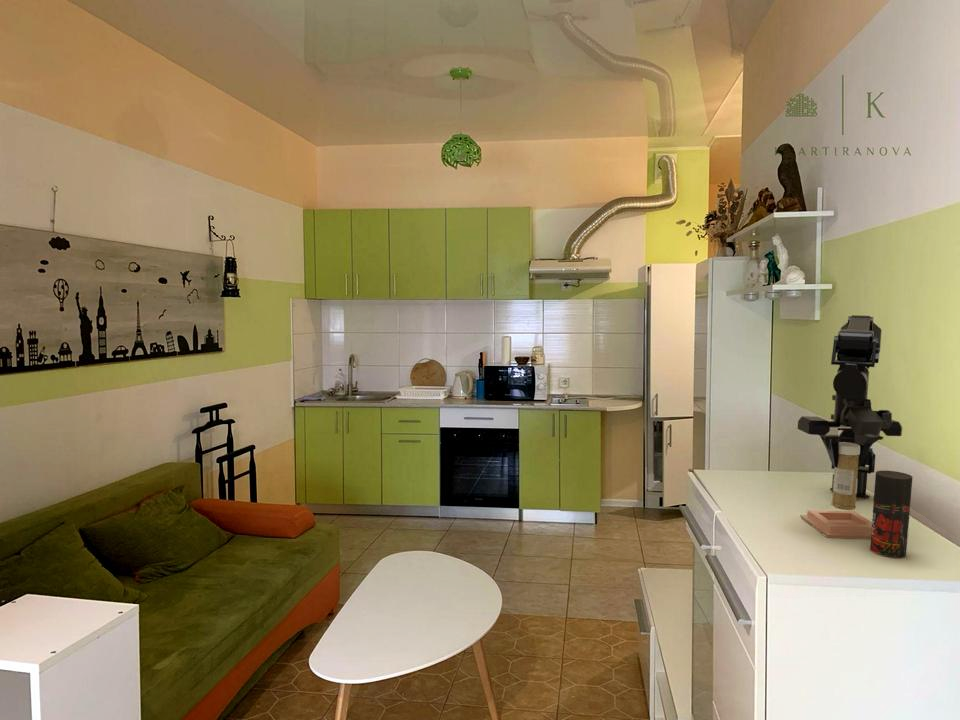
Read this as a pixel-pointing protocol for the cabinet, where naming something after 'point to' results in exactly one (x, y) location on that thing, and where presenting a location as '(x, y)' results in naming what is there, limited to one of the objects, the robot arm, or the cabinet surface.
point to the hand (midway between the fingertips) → (846, 467)
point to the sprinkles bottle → (846, 476)
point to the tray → (839, 523)
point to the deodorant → (891, 514)
